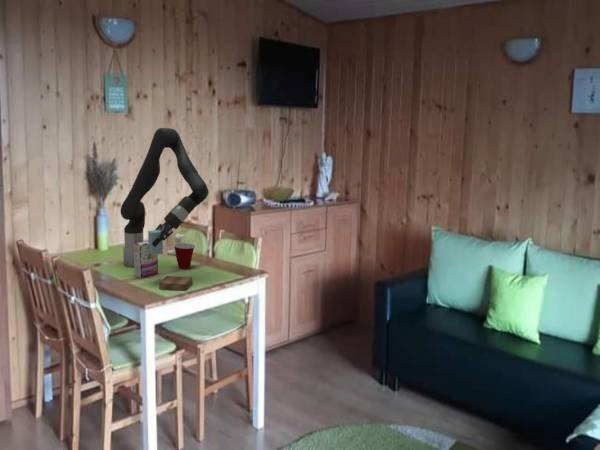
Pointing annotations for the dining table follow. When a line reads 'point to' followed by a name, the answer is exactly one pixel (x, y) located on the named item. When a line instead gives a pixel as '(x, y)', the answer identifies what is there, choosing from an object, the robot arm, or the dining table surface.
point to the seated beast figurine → (177, 240)
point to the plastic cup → (184, 254)
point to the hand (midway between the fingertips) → (151, 244)
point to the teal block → (151, 238)
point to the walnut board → (175, 283)
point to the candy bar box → (144, 260)
